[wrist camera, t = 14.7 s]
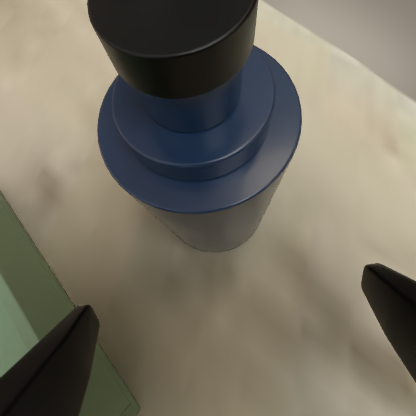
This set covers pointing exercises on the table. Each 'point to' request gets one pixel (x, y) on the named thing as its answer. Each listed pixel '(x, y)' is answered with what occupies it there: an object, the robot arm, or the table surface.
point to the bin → (45, 317)
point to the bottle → (195, 115)
